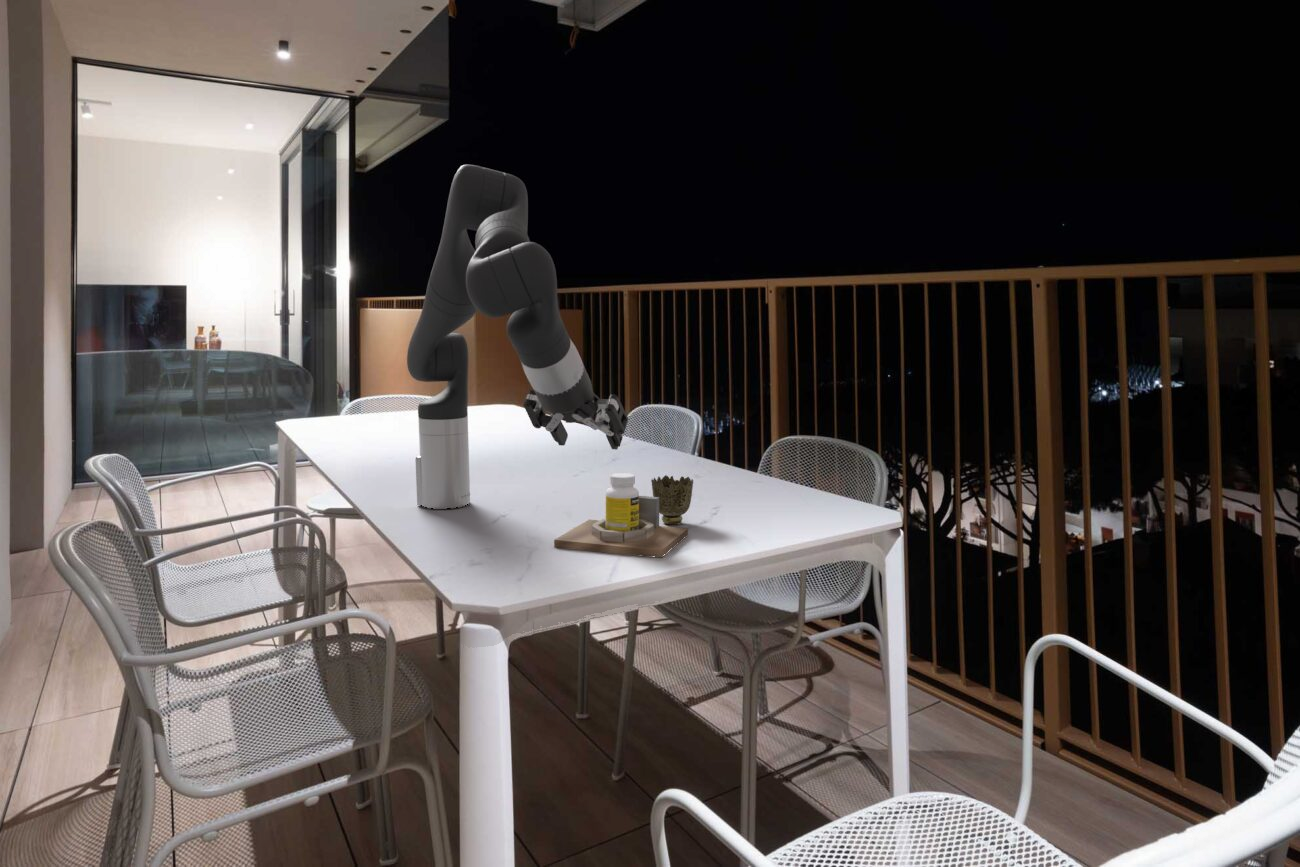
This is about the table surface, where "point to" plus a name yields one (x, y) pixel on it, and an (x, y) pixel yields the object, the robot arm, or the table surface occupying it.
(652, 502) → the socket board
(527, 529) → the table surface
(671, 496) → the cup
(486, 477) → the table surface
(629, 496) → the supplement bottle
